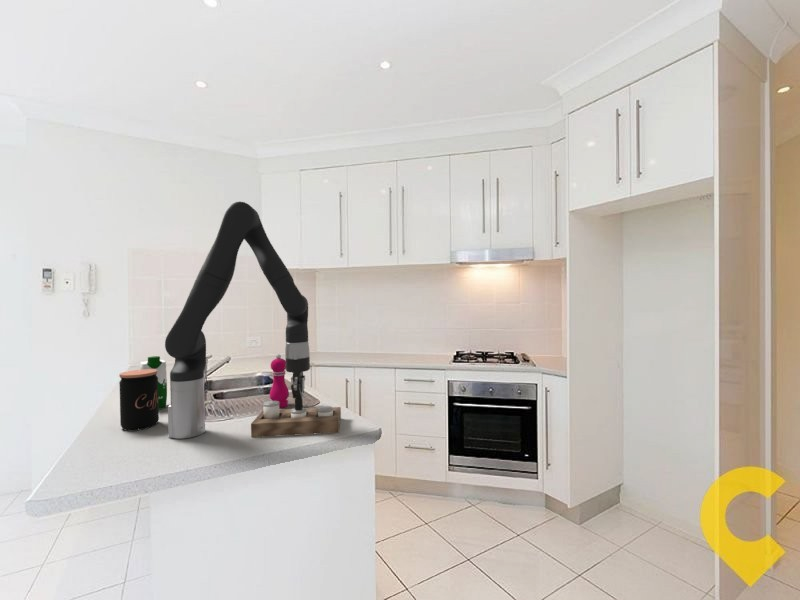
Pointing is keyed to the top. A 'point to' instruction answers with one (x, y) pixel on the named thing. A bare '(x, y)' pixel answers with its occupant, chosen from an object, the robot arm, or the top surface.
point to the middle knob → (298, 413)
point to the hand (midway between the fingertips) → (299, 409)
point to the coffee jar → (139, 399)
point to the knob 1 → (271, 410)
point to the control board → (296, 423)
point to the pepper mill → (279, 382)
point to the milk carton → (162, 377)
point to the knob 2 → (325, 411)
